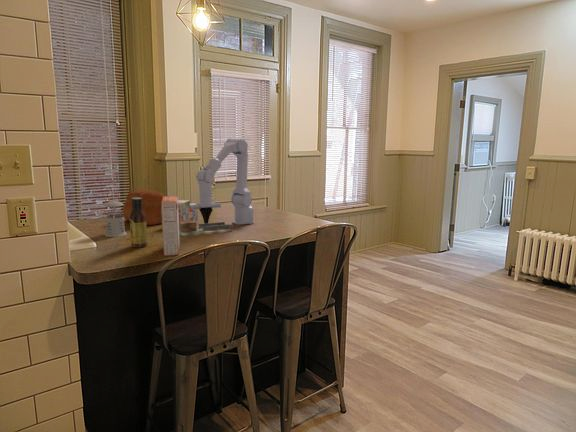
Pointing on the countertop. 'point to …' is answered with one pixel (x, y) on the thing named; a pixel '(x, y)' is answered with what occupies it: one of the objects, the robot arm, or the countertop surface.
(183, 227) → the walnut block
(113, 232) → the french press
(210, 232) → the chute board
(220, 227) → the channel rails
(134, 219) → the sauce bottle
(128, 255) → the countertop surface
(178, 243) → the cracker box
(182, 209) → the stack of blocks
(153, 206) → the bread
